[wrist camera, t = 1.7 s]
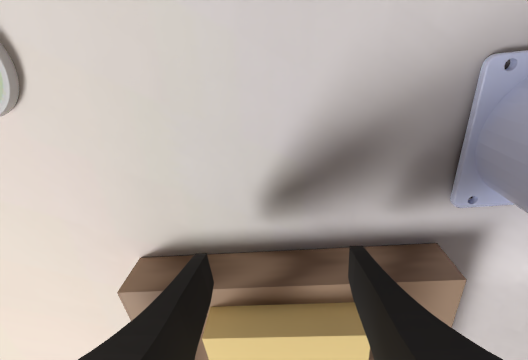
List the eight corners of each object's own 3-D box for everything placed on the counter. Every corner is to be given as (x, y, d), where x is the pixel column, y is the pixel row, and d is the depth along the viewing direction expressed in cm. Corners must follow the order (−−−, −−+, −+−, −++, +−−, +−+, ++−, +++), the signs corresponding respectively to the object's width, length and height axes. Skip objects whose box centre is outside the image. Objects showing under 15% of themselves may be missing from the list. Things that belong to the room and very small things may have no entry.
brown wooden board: (436, 243, 17) (466, 279, 14) (411, 355, 22) (429, 397, 20) (140, 257, 19) (117, 292, 16) (181, 358, 24) (169, 397, 21)
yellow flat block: (360, 302, 16) (371, 335, 14) (355, 362, 18) (364, 397, 16) (210, 306, 16) (202, 338, 15) (226, 364, 19) (221, 397, 17)
